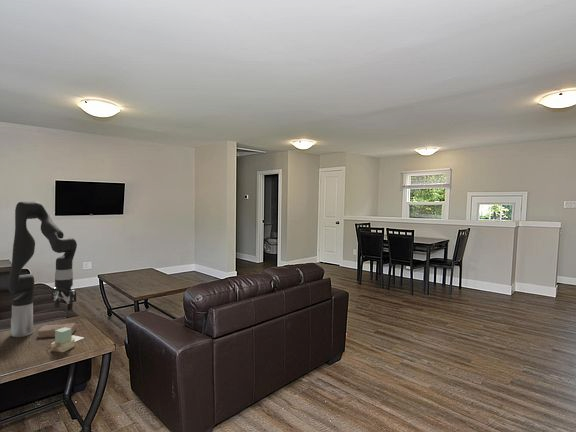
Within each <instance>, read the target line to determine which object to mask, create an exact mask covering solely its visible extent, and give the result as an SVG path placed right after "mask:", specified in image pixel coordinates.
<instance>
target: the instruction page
mask: <svg viewBox="0 0 576 432" xmlns="http://www.w3.org/2000/svg"><path fill="white" fill-rule="evenodd" d="M72 339H75V342H74V343H76V342H78V341H82V340H84V339H85V337H83V336H78V335H74V334H72Z"/></svg>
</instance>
